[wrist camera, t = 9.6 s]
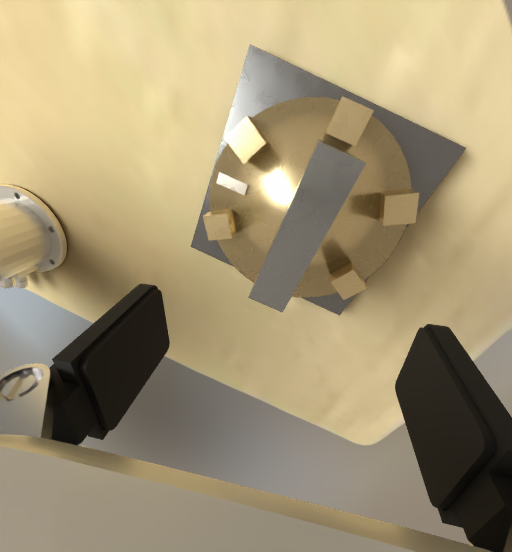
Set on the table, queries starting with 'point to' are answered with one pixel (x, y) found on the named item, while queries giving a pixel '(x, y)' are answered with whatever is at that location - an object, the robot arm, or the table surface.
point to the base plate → (299, 84)
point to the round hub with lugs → (309, 199)
